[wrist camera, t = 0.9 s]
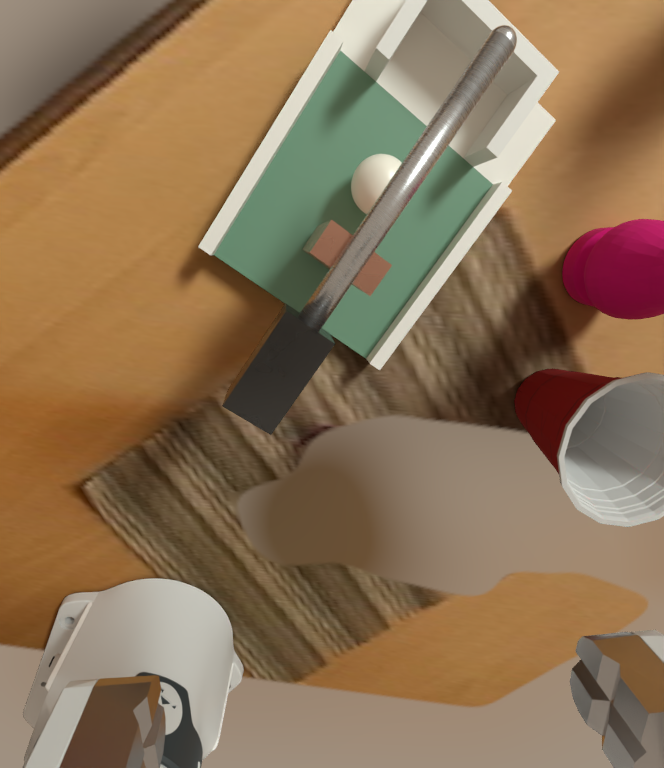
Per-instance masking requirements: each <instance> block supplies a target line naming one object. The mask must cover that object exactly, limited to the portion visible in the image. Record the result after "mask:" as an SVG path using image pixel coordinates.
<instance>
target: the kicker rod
mask: <svg viewBox="0 0 664 768" xmlns="http://www.w3.org/2000/svg"><path fill="white" fill-rule="evenodd" d="M516 43H517V36H516V33H515V31H514V29H513V28H511V27H510V26H507V25H501V26H498V27H496V28H495V29H494V30H493V31H492V32H491V33H490V34H489V36H488V37H487V38H486V40H485V41H484V43H483V44H482V46H481V47H480V49H479V50H478V52H477V53H476V55H475V56H474V58H473V59H472V61H471V62H470V64H469V65H468V66H467V68H466V69H465V71H464V72H463V74H462V75H461V77H460V78H459V80H458V81H457V83H456V84H455V86H454V87H453V89H452V90H451V91H450V93H449V94H448V96H447V97H446V99H445V100H444V102H443V103H442V105H441V106H440V108H439V109H438V111H437V112H436V114H435V115H434V117H433V118H432V119H431V121H430V122H429V124H428V125H427V127H426V128H425V130H424V131H423V133H422V134H421V136H420V137H419V139H418V140H417V142H416V143H415V144H414V146H413V147H412V149H411V150H410V152H409V153H408V155H407V156H406V158H405V159H404V161H403V162H402V164H401V165H400V167H399V168H398V170H397V171H396V172H395V174H394V175H393V177H392V178H391V180H390V181H389V183H388V184H387V186H386V187H385V189H384V190H383V192H382V193H381V195H380V196H379V197H378V199H377V200H376V202H375V203H374V205H373V206H372V208H371V209H370V211H369V212H368V214H367V215H366V217H365V218H364V220H363V221H362V223H361V224H360V225H359V227H358V228H357V230H356V231H355V233H354V234H353V235H351V234H350V233H349V232H348V231H346V230H345V229H344V228H342V227H341V226H340V225H338V224H337V223H336V222H334V221H333V220H329V221H327V222H325V223H323V224H320V225H318V226H317V227H316V229H315V230H314V232H313V233H312V235H311V236H310V238H309V239H308V241H307V242H306V244H305V246H304V247H303V249H302V250H303V251H305V252H306V253H307V254H309V255H310V256H312V257H313V258H314V259H316V260H317V261H318V262H320V263H321V264H323V265H324V266H325V267H327V268H328V269H329V271H328V273H327V274H326V276H325V277H324V278H323V280H322V281H321V283H320V284H319V286H318V287H317V289H316V290H315V292H314V293H313V295H312V296H311V298H310V299H309V301H308V302H307V303H306V305H305V306H304V308H303V309H302V311H301V312H300V313H299V312H298V311H297V310H295V309H294V308H292V307H291V306H289V305H288V304H286V303H285V305H284V306H283V308H282V309H281V311H280V312H279V314H278V315H277V317H276V318H275V320H274V321H273V323H272V324H271V326H270V327H269V329H268V330H267V332H266V333H265V335H264V336H263V338H262V339H261V341H260V342H259V344H258V345H257V347H256V348H255V350H254V351H253V353H252V354H251V356H250V357H249V359H248V360H247V362H246V363H245V365H244V366H243V368H242V369H241V371H240V372H239V374H238V375H237V377H236V378H235V380H234V381H233V383H232V384H231V386H230V387H229V389H228V391H227V394H226V397H225V400H224V403H223V405H222V406H223V407H225V408H226V409H228V410H230V411H231V412H233V413H235V414H236V415H238V416H240V417H242V418H243V419H245V420H247V421H248V422H250V423H252V424H253V425H255V426H257V427H258V428H260V429H262V430H264V431H265V432H267V433H269V434H270V435H271V434H272V433H273V431H274V430H275V428H276V427H277V426H278V424H279V423H280V421H281V420H282V418H283V417H284V416H285V414H286V413H287V411H288V410H289V409H290V407H291V406H292V404H293V403H294V402H295V400H296V399H297V397H298V396H299V394H300V393H301V392H302V390H303V389H304V387H305V386H306V385H307V383H308V382H309V380H310V379H311V377H312V376H313V375H314V373H315V372H316V370H317V369H318V368H319V366H320V365H321V363H322V362H323V360H324V359H325V358H326V356H327V355H328V353H329V352H330V351H331V349H332V348H333V346H334V345H335V343H334V341H333V339H332V337H331V335H330V333H329V332H327V331H326V330H324V329H323V328H322V327H323V325H324V324H325V322H326V321H327V320H328V318H329V317H330V315H331V314H332V312H333V311H334V310H335V308H336V307H337V305H338V304H339V302H340V301H341V299H342V298H343V297H344V295H345V294H346V292H347V291H348V289H349V288H350V286H351V285H353V286H354V287H356V288H357V289H359V290H361V291H362V292H364V293H366V294H367V295H369V296H371V295H372V293H373V292H374V290H375V289H376V288H377V286H378V285H379V283H380V282H381V280H382V279H383V278H384V276H385V275H386V273H387V272H388V271H389V269H390V268H391V266H392V265H391V264H390V263H388V262H387V261H386V260H384V259H383V258H382V257H380V256H379V255H378V254H377V253H375V251H376V249H377V248H378V246H379V245H380V243H381V242H382V240H383V239H384V238H385V236H386V235H387V233H388V232H389V230H390V229H391V227H392V226H393V225H394V223H395V222H396V220H397V219H398V217H399V216H400V215H401V213H402V212H403V210H404V209H405V207H406V206H407V204H408V203H409V202H410V200H411V199H412V197H413V196H414V194H415V193H416V192H417V190H418V189H419V187H420V186H421V184H422V183H423V181H424V180H425V179H426V177H427V176H428V174H429V173H430V171H431V170H432V168H433V167H434V166H435V164H436V163H437V161H438V160H439V158H440V157H441V156H442V154H443V153H444V151H445V150H446V148H447V147H448V145H449V144H450V143H451V141H452V140H453V138H454V137H455V135H456V134H457V132H458V131H459V130H460V128H461V127H462V125H463V124H464V122H465V121H466V120H467V118H468V117H469V115H470V114H471V112H472V111H473V109H474V108H475V107H476V105H477V104H478V102H479V101H480V99H481V98H482V97H483V95H484V94H485V92H486V91H487V89H488V88H489V86H490V85H491V84H492V82H493V81H494V79H495V78H496V76H497V75H498V73H499V72H500V71H501V69H502V68H503V66H504V65H505V63H506V62H507V61H508V59H509V58H510V56H511V55H512V53H513V52H514V50H515V47H516Z"/></svg>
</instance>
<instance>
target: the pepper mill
mask: <svg viewBox="0 0 664 768" xmlns="http://www.w3.org/2000/svg"><path fill="white" fill-rule="evenodd" d="M562 275H563V283H564V286H565V288H566V290H567V292H568V294H569V295H570V296H571V297H572V298H573V299H574V300H576V301H577V302H579V303H581V304H585V305H589V306H594V307H596V308H597V309H598V310H600V311H601V312H602V313H604V314H607V315H609V316H611V317H615V318H621V319H644V318H650V317H655V316H658V315H661V314H664V221H660V220H650V219H638V220H632V221H628V222H625V223H622V224H620V225H618V226H616V227H611V228H599V229H594V230H592V231H589V232H587V233H586V234H584V235H583V236H581V237H580V238H579V239H578V240H577V241H576V242H575V243H574V244H573V245H572V247H571V248H570V250H569V251H568V253H567V256H566V258H565V260H564V264H563V271H562Z"/></svg>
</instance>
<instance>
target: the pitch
mask: <svg viewBox="0 0 664 768" xmlns="http://www.w3.org/2000/svg"><path fill="white" fill-rule="evenodd" d="M501 25H507V26H510V27H511V28H513V29H514V31H515V33H516V36H517V43H516V47H515V50H514V52H513V53H512V55H511V56H510V58H509V59H508V61H507V62H506V63H505V65H504V66H503V68H502V69H501V71H500V72H499V73H498V75H497V76H496V78H495V79H494V81H493V82H492V84H491V85H490V86H489V88H488V89H487V91H486V92H485V94H484V95H483V97H482V98H481V99H480V101H479V102H478V104H477V105H476V107H475V108H474V109H473V111H472V112H471V114H470V115H469V117H468V118H467V120H466V121H465V122H464V124H463V125H462V127H461V128H460V130H459V131H458V132H457V134H456V135H455V137H454V138H453V140H452V141H451V143H450V144H449V145H448V147H447V148H446V150H445V151H444V153H443V154H442V156H441V157H440V158H439V160H438V161H437V163H436V164H435V166H434V167H433V168H432V170H431V171H430V173H429V174H428V176H427V177H426V179H425V180H424V181H423V183H422V184H421V186H420V187H419V189H418V190H417V192H416V193H415V194H414V196H413V197H412V199H411V200H410V202H409V203H408V204H407V206H406V207H405V209H404V210H403V212H402V213H401V215H400V216H399V217H398V219H397V220H396V222H395V223H394V225H393V226H392V227H391V229H390V230H389V232H388V233H387V235H386V236H385V238H384V239H383V240H382V242H381V243H380V245H379V246H378V248H377V249H376V251H375V253H377V254H378V255H379V256H380V257H382V258H383V259H384V260H386V261H387V262H388V263H390V264H391V265H392V266H391V268H390V269H389V271H388V272H387V273H386V275H385V276H384V278H383V279H382V280H381V282H380V283H379V285H378V286H377V288H376V289H375V290H374V292H373V293H372V295H371V296H369V295H367V294H366V293H364V292H362V291H361V290H359V289H357V288H356V287H354V286H353V285H351V286H350V288H349V289H348V291H347V292H346V294H345V295H344V297H343V298H342V299H341V301H340V302H339V304H338V305H337V307H336V308H335V310H334V311H333V312H332V314H331V315H330V317H329V318H328V320H327V321H326V322H325V324H324V325H323V327H322V328H323V329H324V330H326V331H327V332H329V333H330V334H331V335H332V336H334V337H335V338H336V339H338V340H339V341H341V342H342V343H344V344H345V345H347V346H348V347H350V348H351V349H353V350H354V351H356V352H357V353H359V354H360V355H361V356H363V357H364V358H366V359H367V361H368V362H369V363H370V364H371V365H373V366H374V367H376V368H377V369H379V370H380V369H381V368H382V367H383V365H384V364H385V362H386V361H387V360H388V358H389V357H390V356H391V354H392V353H393V352H394V350H395V349H396V348H397V346H398V345H399V344H400V342H401V341H402V339H403V338H404V337H405V335H406V334H407V333H408V331H409V330H410V329H411V327H412V326H413V325H414V323H415V322H416V320H417V319H418V318H419V316H420V315H421V314H422V312H423V311H424V310H425V308H426V307H427V306H428V304H429V303H430V302H431V300H432V299H433V297H434V296H435V295H436V293H437V292H438V291H439V289H440V288H441V287H442V285H443V284H444V283H445V281H446V280H447V279H448V277H449V276H450V274H451V273H452V272H453V270H454V269H455V268H456V266H457V265H458V264H459V262H460V261H461V260H462V258H463V257H464V255H465V254H466V253H467V251H468V250H469V249H470V247H471V246H472V245H473V243H474V242H475V241H476V239H477V238H478V237H479V235H480V234H481V232H482V231H483V230H484V228H485V227H486V226H487V224H488V223H489V222H490V220H491V219H492V218H493V216H494V215H495V213H496V212H497V211H498V209H499V208H500V207H501V205H502V204H503V203H504V201H505V200H506V199H507V197H508V196H509V195H510V193H511V192H512V190H511V189H510V188H509V187H508V185H509V184H510V182H511V181H512V180H513V178H514V177H515V175H516V174H517V173H518V171H519V170H520V169H521V167H522V166H523V165H524V163H525V162H526V160H527V159H528V158H529V156H530V155H531V154H532V152H533V151H534V150H535V148H536V147H537V145H538V144H539V143H540V141H541V140H542V139H543V137H544V136H545V135H546V133H547V132H548V131H549V129H550V128H551V126H552V125H553V124H554V122H555V121H556V120H555V119H554V118H553V117H552V116H551V115H550V114H549V113H548V112H547V111H546V110H545V109H544V108H543V107H542V106H541V105H540V104H539V103H538V101H539V99H540V98H541V97H542V95H543V94H544V92H545V91H546V90H547V88H548V87H549V85H550V84H551V83H552V81H553V80H554V78H555V77H556V76H557V74H558V73H559V71H558V70H557V69H556V68H555V67H554V66H553V65H552V64H551V63H550V62H549V61H548V60H547V59H546V58H545V57H544V56H543V55H542V54H541V53H540V52H539V51H538V50H537V49H536V48H535V47H534V46H533V45H532V44H531V43H530V42H529V41H528V40H527V39H526V38H525V37H524V36H523V35H522V34H521V33H520V32H519V31H518V30H517V29H516V28H515V27H514V26H513V25H512V24H511V23H510V22H509V21H508V20H507V19H506V18H505V17H504V16H503V15H502V14H501V13H500V12H499V10H498V9H497V8H496V7H495V6H494V5H493V4H492V3H491V2H490V1H489V0H352V2H351V3H350V5H349V7H348V8H347V10H346V12H345V13H344V15H343V17H342V18H341V20H340V21H339V23H338V25H337V26H336V28H335V30H334V31H331V30H330V32H329V33H328V35H327V37H326V38H325V40H324V41H323V43H322V45H321V46H320V48H319V50H318V51H317V53H316V55H315V56H314V58H313V59H312V61H311V63H310V64H309V66H308V68H307V69H306V71H305V73H304V74H303V76H302V77H301V79H300V81H299V82H298V84H297V86H296V87H295V89H294V91H293V92H292V94H291V95H290V97H289V99H288V100H287V102H286V104H285V105H284V107H283V109H282V110H281V112H280V114H279V115H278V117H277V118H276V120H275V122H274V123H273V125H272V127H271V128H270V130H269V132H268V133H267V135H266V136H265V138H264V140H263V141H262V143H261V145H260V146H259V148H258V150H257V151H256V153H255V154H254V156H253V158H252V159H251V161H250V163H249V164H248V166H247V168H246V169H245V171H244V172H243V174H242V176H241V177H240V179H239V181H238V182H237V184H236V186H235V187H234V189H233V190H232V192H231V194H230V195H229V197H228V199H227V200H226V202H225V204H224V205H223V207H222V209H221V210H220V212H219V213H218V215H217V217H216V218H215V220H214V222H213V223H212V225H211V227H210V228H209V230H208V231H207V233H206V235H205V236H204V238H203V240H202V241H201V243H200V245H199V246H198V247H199V248H200V249H202V250H203V251H205V252H206V253H208V254H209V255H215V256H216V257H218V258H219V259H220V260H222V261H223V262H225V263H226V264H228V265H229V266H231V267H232V268H234V269H235V270H237V271H238V272H240V273H241V274H242V275H244V276H245V277H247V278H248V279H250V280H251V281H253V282H254V283H256V284H257V285H259V286H260V287H262V288H263V289H265V290H266V291H267V292H269V293H270V294H272V295H273V296H275V297H276V298H278V299H279V300H281V301H282V302H284V303H286V304H288V305H289V306H291V307H292V308H294V309H295V310H297V311H298V312H299V313H300V312H301V311H302V309H303V308H304V306H305V305H306V303H307V302H308V301H309V299H310V298H311V296H312V295H313V293H314V292H315V290H316V289H317V287H318V286H319V284H320V283H321V281H322V280H323V278H324V277H325V276H326V274H327V273H328V271H329V269H328V268H327V267H325V266H324V265H323V264H321V263H320V262H318V261H317V260H316V259H314V258H313V257H312V256H310V255H309V254H307V253H306V252H305V251H303V250H302V249H303V247H304V246H305V244H306V242H307V241H308V239H309V238H310V236H311V235H312V233H313V232H314V230H315V229H316V227H317V226H318V225H320V224H323V223H325V222H327V221H329V220H333V221H334V222H336V223H337V224H338V225H340V226H341V227H342V228H344V229H345V230H346V231H348V232H349V233H350V234H351V235H353V234H354V233H355V231H356V230H357V228H358V227H359V225H360V224H361V223H362V221H363V220H364V218H365V217H366V215H367V214H365V213H364V212H362V211H361V210H360V209H359V208H358V206H357V205H356V203H355V202H354V199H353V197H352V192H351V182H352V177H353V174H354V172H355V170H356V168H357V167H358V166H359V164H360V163H361V162H362V161H363V160H365V159H366V158H368V157H370V156H372V155H375V154H388V155H391V156H394V157H395V158H397V159H398V160H400V161H401V162H403V161H404V159H405V158H406V156H407V155H408V153H409V152H410V150H411V149H412V147H413V146H414V144H415V143H416V142H417V140H418V139H419V137H420V136H421V134H422V133H423V131H424V130H425V128H426V127H427V125H428V124H429V122H430V121H431V119H432V118H433V117H434V115H435V114H436V112H437V111H438V109H439V108H440V106H441V105H442V103H443V102H444V100H445V99H446V97H447V96H448V94H449V93H450V91H451V90H452V89H453V87H454V86H455V84H456V83H457V81H458V80H459V78H460V77H461V75H462V74H463V72H464V71H465V69H466V68H467V66H468V65H469V64H470V62H471V61H472V59H473V58H474V56H475V55H476V53H477V52H478V50H479V49H480V47H481V46H482V44H483V43H484V41H485V40H486V38H487V37H488V36H489V34H490V33H491V32H492V31H493V30H494V29H495V28H496V27H498V26H501Z"/></svg>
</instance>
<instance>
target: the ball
mask: <svg viewBox="0 0 664 768" xmlns="http://www.w3.org/2000/svg"><path fill="white" fill-rule="evenodd" d="M401 164H402V162H401V161H400V160H398V159H397V158H395V157H394V156H391V155H388V154H375V155H372V156H370V157H368V158H366V159H365V160H363V161H362V162H361V163H360V164H359V166H358V167H357V168H356V170H355V172H354V174H353V177H352V182H351V192H352V197H353V199H354V202H355V203H356V205H357V206H358V208H359V209H360V210H361V211H362V212H364V213H365V214H368V212H369V211H370V209H371V208H372V206H373V205H374V203H375V202H376V200H377V199H378V197H379V196H380V195H381V193H382V192H383V190H384V189H385V187H386V186H387V184H388V183H389V181H390V180H391V178H392V177H393V175H394V174H395V172H396V171H397V170H398V168H399V167H400V165H401Z"/></svg>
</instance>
